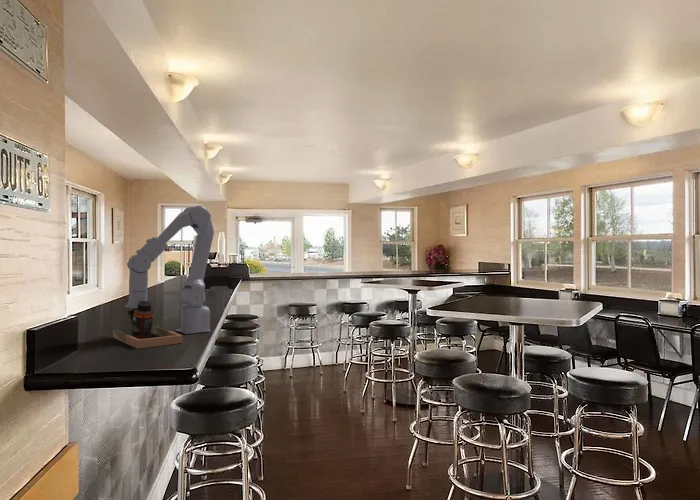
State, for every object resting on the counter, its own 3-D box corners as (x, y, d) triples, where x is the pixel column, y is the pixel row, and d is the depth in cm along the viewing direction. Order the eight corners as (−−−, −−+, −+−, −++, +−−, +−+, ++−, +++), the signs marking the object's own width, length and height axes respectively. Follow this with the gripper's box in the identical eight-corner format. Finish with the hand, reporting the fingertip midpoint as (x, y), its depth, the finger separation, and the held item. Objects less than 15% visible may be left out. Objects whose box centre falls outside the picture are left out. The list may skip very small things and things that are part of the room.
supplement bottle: (154, 334, 170) (158, 302, 168) (145, 341, 165) (149, 308, 162) (137, 329, 171) (141, 298, 168) (127, 336, 165) (131, 303, 162)
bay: (155, 333, 176) (156, 326, 176) (182, 343, 161) (182, 335, 160) (113, 337, 167) (113, 329, 167) (136, 348, 151) (137, 340, 151)
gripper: (118, 289, 173) (117, 329, 173) (133, 293, 162) (132, 336, 162) (139, 288, 177) (138, 328, 177) (155, 292, 166) (155, 334, 167)
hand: (137, 332), depth 170 cm, fingers closed, pressing on supplement bottle
